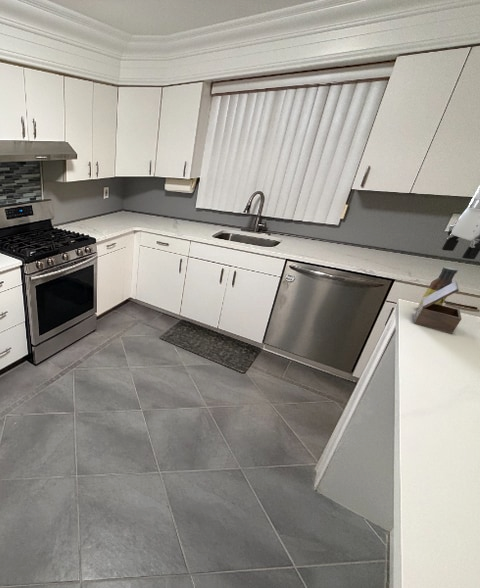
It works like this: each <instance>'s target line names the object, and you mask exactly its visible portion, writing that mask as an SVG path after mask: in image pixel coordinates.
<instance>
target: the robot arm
mask: <svg viewBox="0 0 480 588" xmlns="http://www.w3.org/2000/svg"><path fill="white" fill-rule="evenodd" d="M459 239H463V240H466V241H469V243H470V246H467V248H466V250H465V252H464V253H463V255H462V256H461V258H462V259H465V260H475V259H476V258H477V256H478V255H479V253H480V185H479V186H478V188H477V189H476V191H475V192H474V194H473V196H472V198H471V200H470V202H469V204H468V205H467V207H466V208H465V210H464V211H463V212H462V214H461V215H460V216H459V218H458V219H457V221H456V223H454V224H451V225H450V226H448V231H447V236H446V241H445V242H444V244H443V246H442V247H441V250H442V251H448V252H453V251H454V250H456V248H457V245H458V243H459V241H460V240H459Z"/></svg>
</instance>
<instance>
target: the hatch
mask: <svg viewBox="0 0 480 588" xmlns="http://www.w3.org/2000/svg"><path fill="white" fill-rule="evenodd" d="M459 291H460V288H459V285H458V282H457V281H452V283H451V284H449V285H447V286H446V287H444V288H442V289H440V290H438V291H436V292H434V293H432V294H431V295H429V296H427V297H425V298H423V297H422V298H423V299H422V298H421V300H422V307H423V308H426V307H428V306H430V305H432V304H434V303H436V302H438V301H440V300H442V299H444V298H446V297H447V298H448V297H450V296H451V295H453V294H455V293H457V292H459ZM447 298H446V299H447Z"/></svg>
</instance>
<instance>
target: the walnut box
mask: <svg viewBox="0 0 480 588" xmlns="http://www.w3.org/2000/svg"><path fill="white" fill-rule="evenodd" d="M419 304H420V303H419ZM418 307H419V308H418ZM418 307H417V308H418V310H416V311H415V313H414V320H413V321H414V322H413V324H415V325H419V326H422V327H425V328H428V329H432V330H435V331H440V332H442V333H446V334H450V335H452V334H453V333H454V332H455V330H456V329H457V327H458V325H460V322H461V321H462V314H461V310H460V309H459V308H455V307H451V306H447V305H439V304H435V303H434V304H432V305H430V306H428V307H426V308H423V307H422V303H421V304H420V306H418Z"/></svg>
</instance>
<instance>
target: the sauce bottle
mask: <svg viewBox="0 0 480 588" xmlns="http://www.w3.org/2000/svg"><path fill="white" fill-rule="evenodd" d="M458 271H459V270H458V269H457V268H454V267H449V266H444V267H442V269H441V272H440V274H439V275H438V277H437V278H436V279H433V280H432V281H431V282H430V284H429V285H428V287H427V289H426V291H425V293H424V294H423V296H422V298H421V300H420V301H419V303H418V306H417V307H416V309H417V310H418V308H419V306H420V304H421V303H422V299H423V298H425V297H427V296H429V295H431V294H432V293H434V292H436V291H438V290H440V289H442V288H444V287H446V286H447V285H449V284H451V283H453V279H454V277H455V276H456V274H457V273H458ZM447 298H448V297H446V298H444V299H442V300H440V301H438V302H436V303H435V304H439V305H443V304H445V302H446V300H447ZM443 306H444V305H443ZM417 310H416V311H417Z"/></svg>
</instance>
